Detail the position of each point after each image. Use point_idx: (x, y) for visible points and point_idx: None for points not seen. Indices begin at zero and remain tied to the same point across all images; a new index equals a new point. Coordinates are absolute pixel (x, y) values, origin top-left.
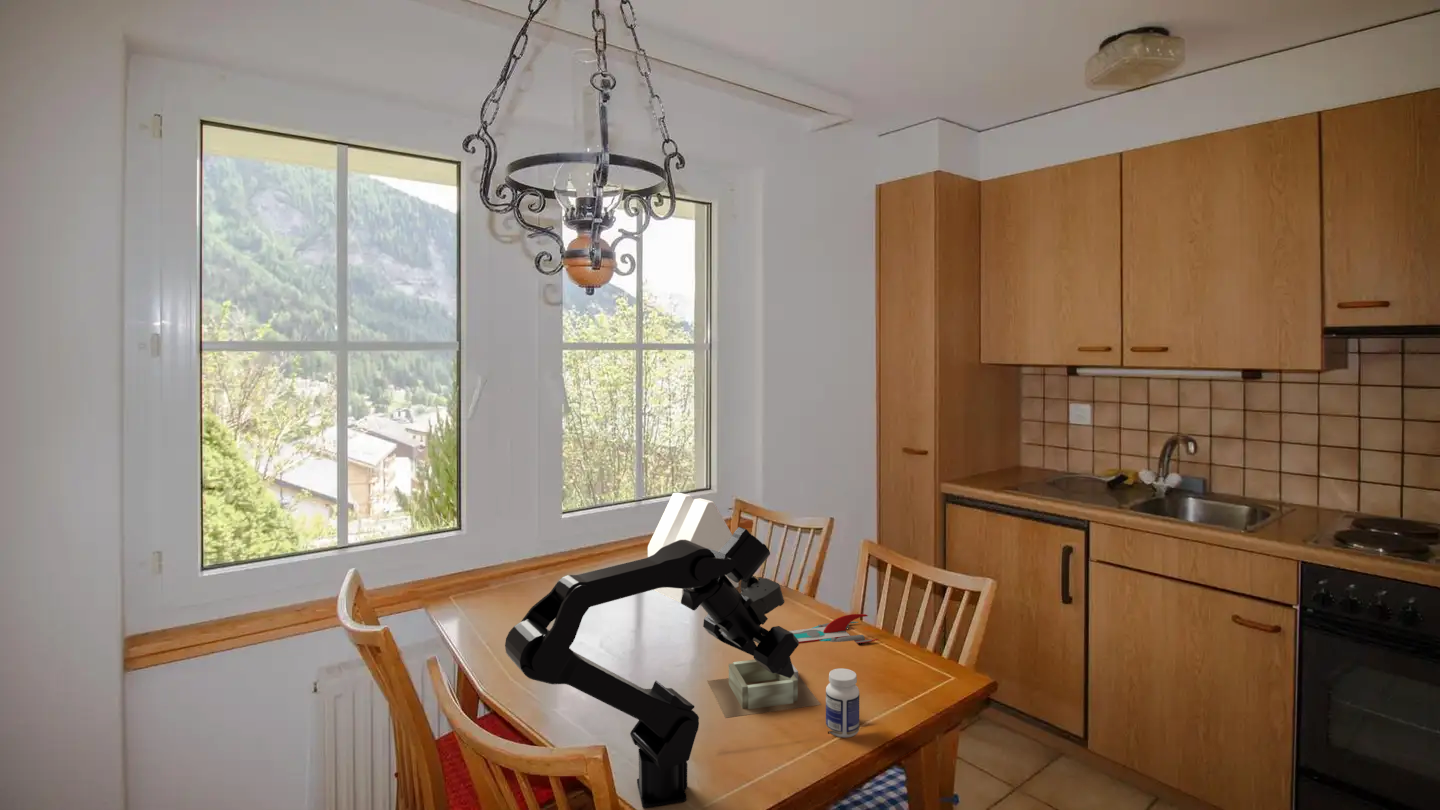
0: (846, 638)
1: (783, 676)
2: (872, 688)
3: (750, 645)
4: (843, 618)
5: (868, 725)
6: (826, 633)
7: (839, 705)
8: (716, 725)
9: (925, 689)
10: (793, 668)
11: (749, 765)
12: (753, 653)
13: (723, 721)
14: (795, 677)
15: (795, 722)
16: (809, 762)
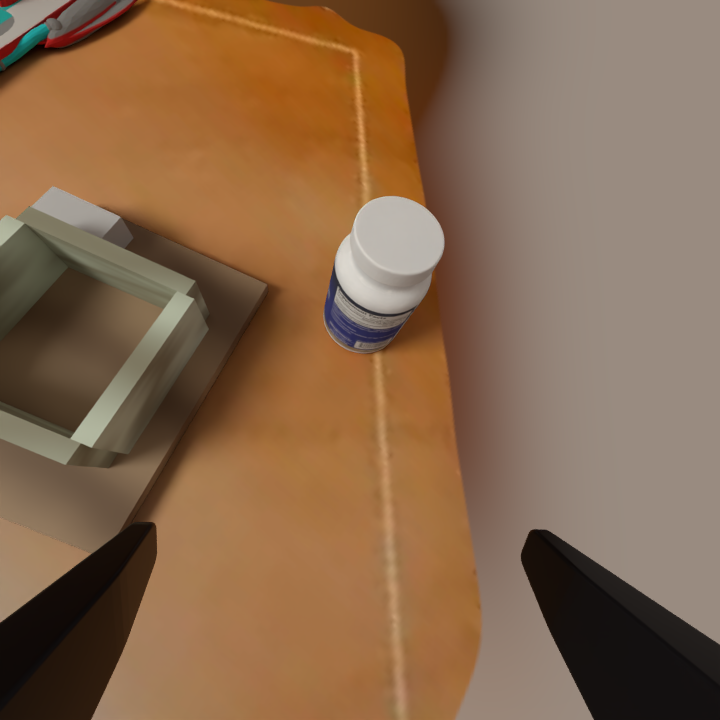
0: (82, 10)
1: (112, 272)
2: (281, 154)
3: (82, 669)
4: None
5: None
6: (10, 7)
7: (405, 316)
8: None
9: (352, 106)
10: (94, 211)
11: (338, 628)
12: (137, 593)
13: None
14: (177, 273)
15: (265, 378)
16: (414, 475)
